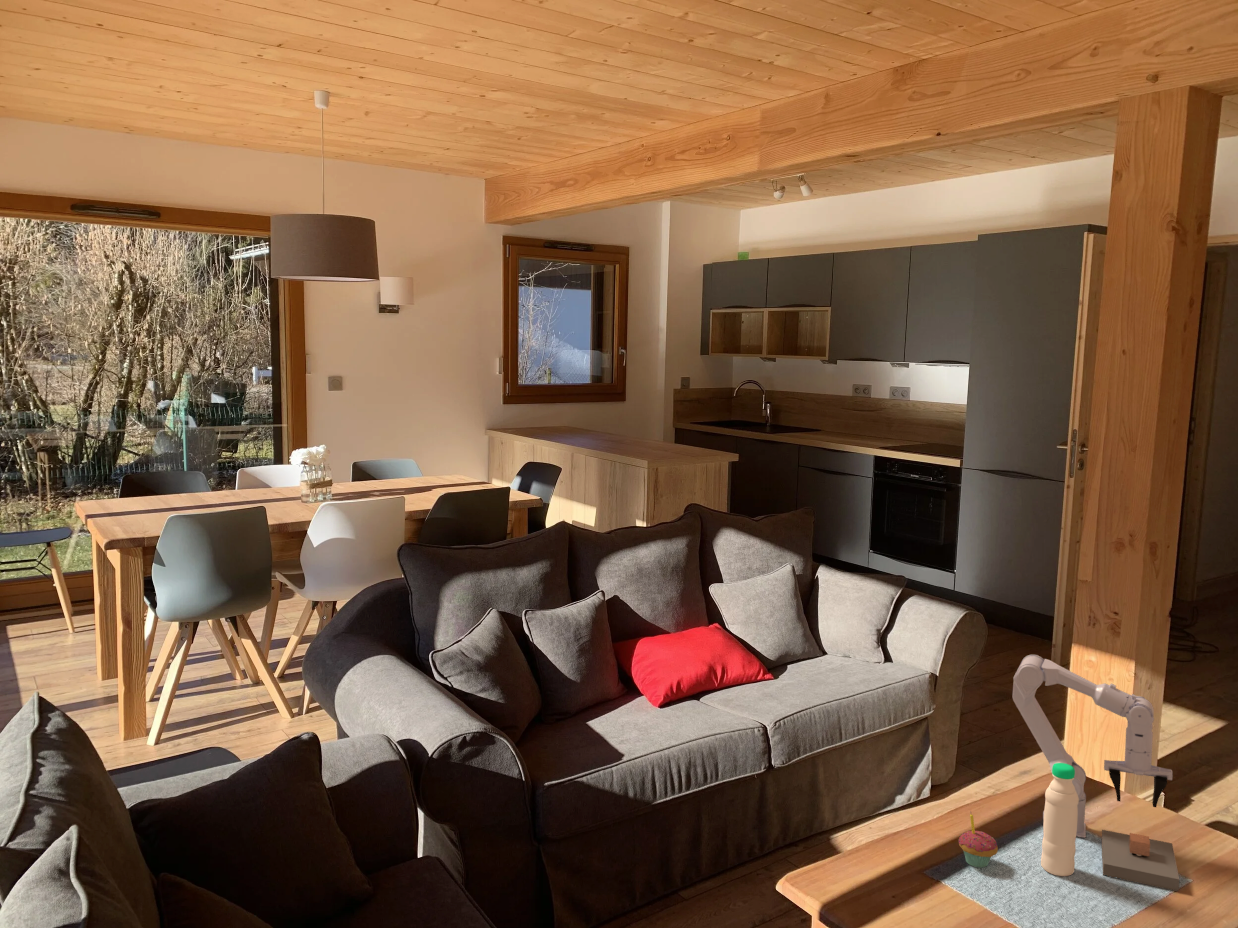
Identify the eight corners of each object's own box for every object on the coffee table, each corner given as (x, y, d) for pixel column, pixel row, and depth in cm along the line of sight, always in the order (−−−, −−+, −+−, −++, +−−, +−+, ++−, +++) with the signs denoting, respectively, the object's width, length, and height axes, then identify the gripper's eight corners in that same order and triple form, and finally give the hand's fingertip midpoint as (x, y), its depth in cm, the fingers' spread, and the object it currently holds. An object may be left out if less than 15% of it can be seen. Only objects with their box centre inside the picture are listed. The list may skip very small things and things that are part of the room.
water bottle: (1077, 879, 217) (1084, 773, 215) (1044, 875, 219) (1051, 770, 216) (1069, 863, 224) (1076, 760, 222) (1037, 859, 226) (1043, 758, 223)
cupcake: (955, 865, 222) (957, 816, 221) (960, 849, 230) (963, 801, 229) (994, 875, 218) (997, 825, 217) (998, 858, 226) (1001, 810, 225)
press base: (1102, 874, 219) (1103, 863, 219) (1101, 840, 235) (1102, 829, 235) (1178, 891, 213) (1179, 879, 212) (1171, 854, 229) (1172, 843, 229)
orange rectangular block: (1128, 865, 223) (1130, 840, 222) (1127, 857, 227) (1129, 832, 226) (1148, 869, 221) (1150, 843, 221) (1147, 861, 225) (1148, 836, 224)
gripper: (1105, 749, 231) (1103, 803, 232) (1174, 759, 225) (1172, 814, 226) (1104, 739, 238) (1102, 792, 239) (1171, 748, 231) (1169, 802, 233)
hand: (1136, 802), depth 233 cm, fingers open, 7 cm apart
